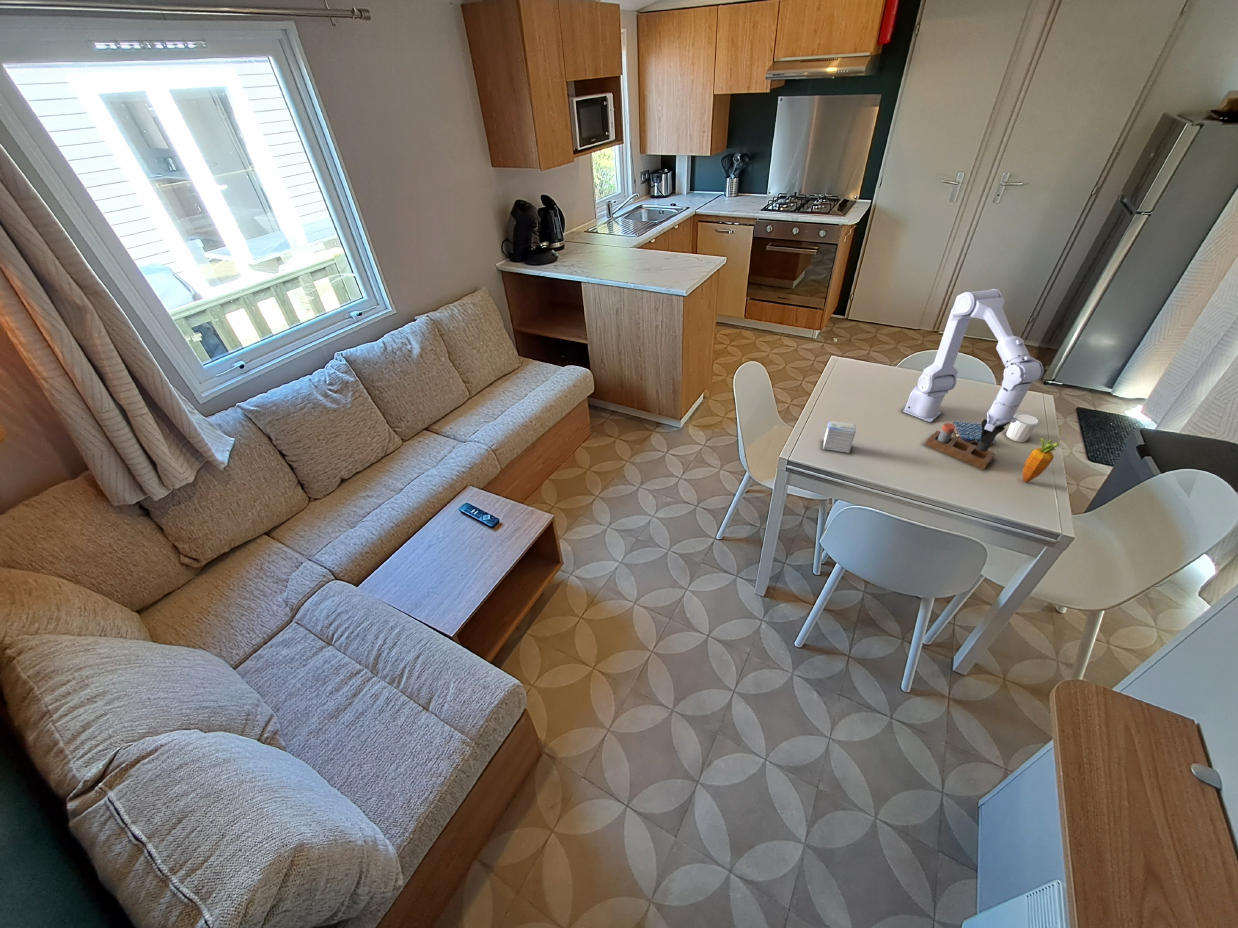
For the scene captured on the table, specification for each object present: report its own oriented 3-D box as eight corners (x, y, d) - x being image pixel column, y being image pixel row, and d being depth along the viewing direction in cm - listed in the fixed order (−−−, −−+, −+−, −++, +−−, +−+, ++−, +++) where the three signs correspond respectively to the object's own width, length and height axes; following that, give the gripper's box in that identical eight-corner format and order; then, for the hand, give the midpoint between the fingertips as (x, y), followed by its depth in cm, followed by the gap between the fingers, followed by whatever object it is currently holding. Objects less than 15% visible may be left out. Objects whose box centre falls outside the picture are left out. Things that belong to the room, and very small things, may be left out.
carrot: (1010, 477, 144) (1036, 436, 134) (1027, 475, 144) (1053, 434, 134) (1022, 488, 140) (1049, 447, 130) (1039, 486, 140) (1067, 445, 131)
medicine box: (848, 445, 159) (855, 423, 153) (849, 453, 156) (856, 431, 150) (823, 441, 161) (829, 419, 156) (822, 449, 158) (828, 427, 152)
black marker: (974, 448, 148) (984, 428, 143) (978, 444, 149) (988, 424, 145) (985, 453, 146) (997, 433, 141) (989, 448, 148) (1001, 428, 143)
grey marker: (933, 445, 157) (941, 426, 152) (937, 440, 158) (946, 421, 154) (943, 449, 155) (952, 430, 150) (947, 445, 156) (957, 426, 152)
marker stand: (925, 445, 157) (927, 439, 155) (934, 436, 160) (937, 430, 159) (983, 469, 147) (987, 463, 145) (992, 459, 150) (995, 453, 148)
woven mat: (984, 427, 162) (986, 422, 161) (995, 446, 155) (998, 441, 153) (949, 424, 165) (951, 419, 163) (958, 443, 157) (960, 438, 155)
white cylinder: (1033, 443, 155) (1044, 425, 150) (1008, 442, 156) (1019, 424, 152) (1024, 431, 160) (1034, 413, 155) (1000, 429, 161) (1010, 411, 157)
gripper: (1014, 417, 131) (992, 456, 140) (1033, 396, 138) (1010, 435, 147) (985, 407, 135) (965, 446, 144) (1004, 387, 142) (984, 425, 151)
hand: (986, 440), depth 146 cm, fingers closed on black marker, 3 cm apart
